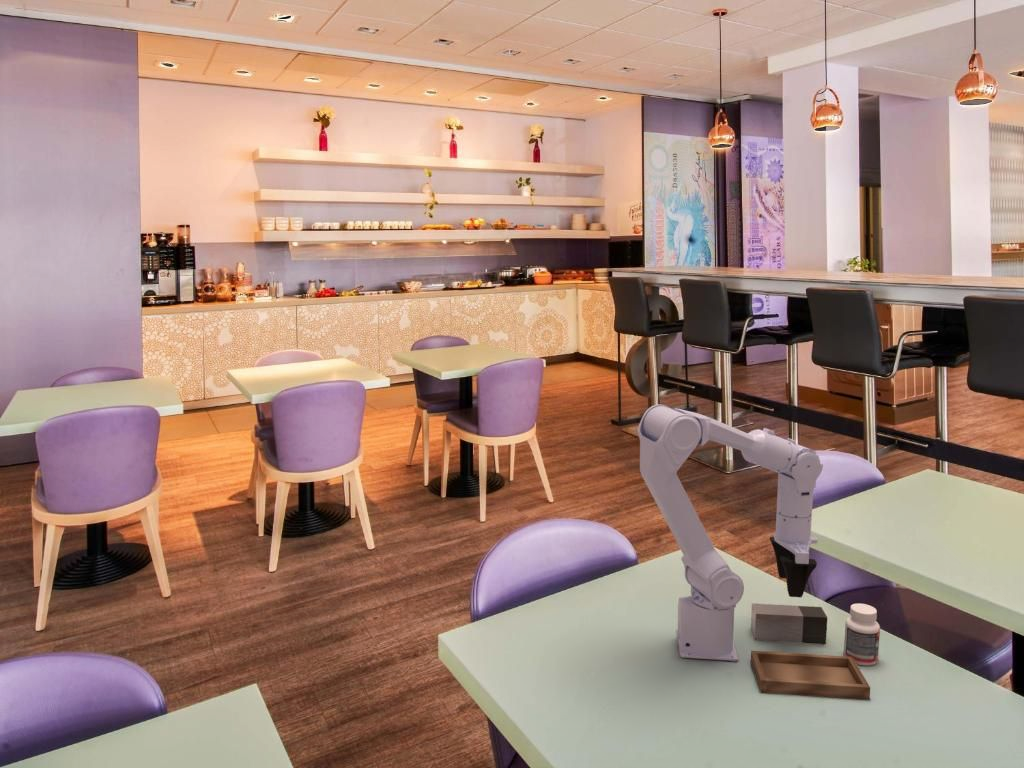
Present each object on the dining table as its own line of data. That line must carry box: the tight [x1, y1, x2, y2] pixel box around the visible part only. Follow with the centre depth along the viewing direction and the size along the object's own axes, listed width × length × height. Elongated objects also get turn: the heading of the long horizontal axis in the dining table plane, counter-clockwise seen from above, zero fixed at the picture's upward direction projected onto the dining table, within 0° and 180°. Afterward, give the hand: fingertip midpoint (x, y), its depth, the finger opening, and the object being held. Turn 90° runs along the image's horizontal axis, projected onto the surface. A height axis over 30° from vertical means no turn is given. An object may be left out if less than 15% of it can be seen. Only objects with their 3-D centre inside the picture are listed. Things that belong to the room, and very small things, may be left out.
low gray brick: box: [750, 603, 828, 645], centre depth 131 cm, size 12×4×5 cm, turn 82°
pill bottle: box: [843, 603, 881, 667], centre depth 123 cm, size 5×5×9 cm
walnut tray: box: [749, 650, 871, 701], centre depth 117 cm, size 16×9×2 cm, turn 82°
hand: (790, 586), depth 130 cm, fingers open, 7 cm apart
